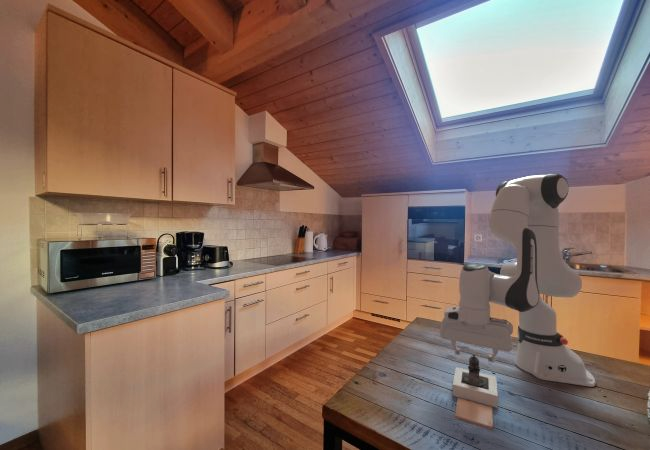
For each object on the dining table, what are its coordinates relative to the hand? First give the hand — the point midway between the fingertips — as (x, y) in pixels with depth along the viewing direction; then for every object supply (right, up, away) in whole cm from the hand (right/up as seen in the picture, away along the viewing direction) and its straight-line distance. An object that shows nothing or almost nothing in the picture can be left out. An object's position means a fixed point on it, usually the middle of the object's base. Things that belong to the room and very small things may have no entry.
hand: (473, 357), depth 88 cm
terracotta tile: (-5, -11, -10) cm, 16 cm away
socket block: (+1, -11, 0) cm, 11 cm away
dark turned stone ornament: (0, -11, 0) cm, 11 cm away
